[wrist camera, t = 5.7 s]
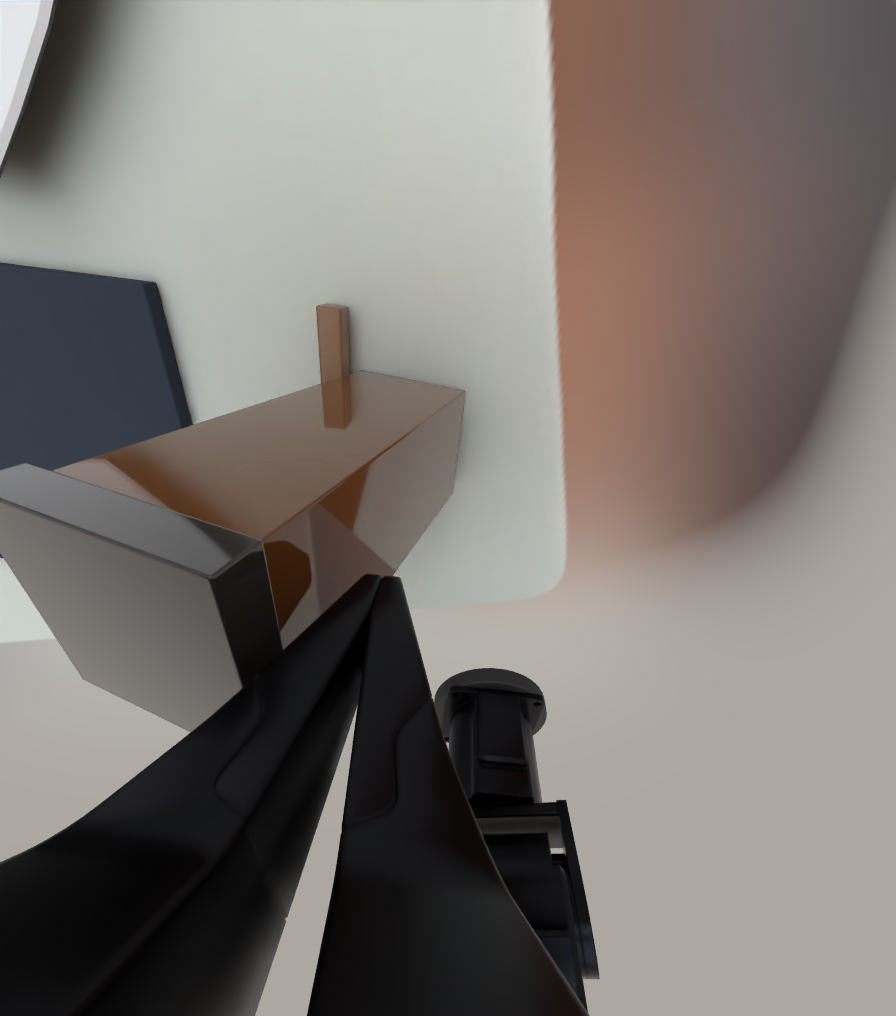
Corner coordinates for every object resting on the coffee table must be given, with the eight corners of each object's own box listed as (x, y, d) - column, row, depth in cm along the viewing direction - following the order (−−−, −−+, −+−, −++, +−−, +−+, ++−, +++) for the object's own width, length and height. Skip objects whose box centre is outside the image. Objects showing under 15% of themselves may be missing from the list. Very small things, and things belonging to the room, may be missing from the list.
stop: (354, 508, 21) (348, 520, 20) (336, 506, 21) (329, 518, 20) (349, 306, 16) (340, 308, 15) (325, 303, 16) (315, 305, 15)
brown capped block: (456, 497, 19) (268, 771, 8) (359, 471, 20) (82, 679, 9) (471, 386, 16) (210, 578, 5) (357, 364, 17) (-48, 482, 6)
